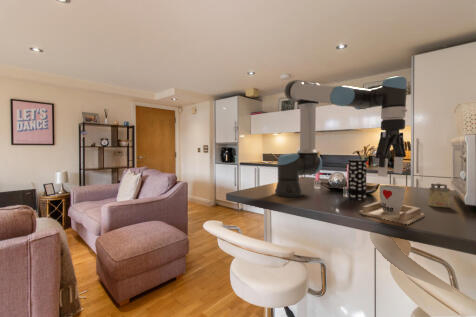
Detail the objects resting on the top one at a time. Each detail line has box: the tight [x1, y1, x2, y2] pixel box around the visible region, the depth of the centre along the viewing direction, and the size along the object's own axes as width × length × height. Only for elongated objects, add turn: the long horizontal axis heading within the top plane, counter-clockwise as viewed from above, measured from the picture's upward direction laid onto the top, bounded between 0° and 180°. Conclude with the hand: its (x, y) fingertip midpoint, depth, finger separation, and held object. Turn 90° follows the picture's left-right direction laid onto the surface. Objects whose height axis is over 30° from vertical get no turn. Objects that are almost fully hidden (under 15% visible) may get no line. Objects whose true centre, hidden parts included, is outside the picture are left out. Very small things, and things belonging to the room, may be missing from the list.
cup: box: [379, 184, 406, 214], centre depth 83 cm, size 8×8×10 cm
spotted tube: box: [347, 159, 368, 201], centre depth 110 cm, size 8×8×20 cm
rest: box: [358, 200, 425, 226], centre depth 83 cm, size 16×16×3 cm
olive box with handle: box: [428, 182, 451, 208], centre depth 93 cm, size 7×4×10 cm, turn 66°
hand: (390, 174), depth 83 cm, fingers open, 13 cm apart
